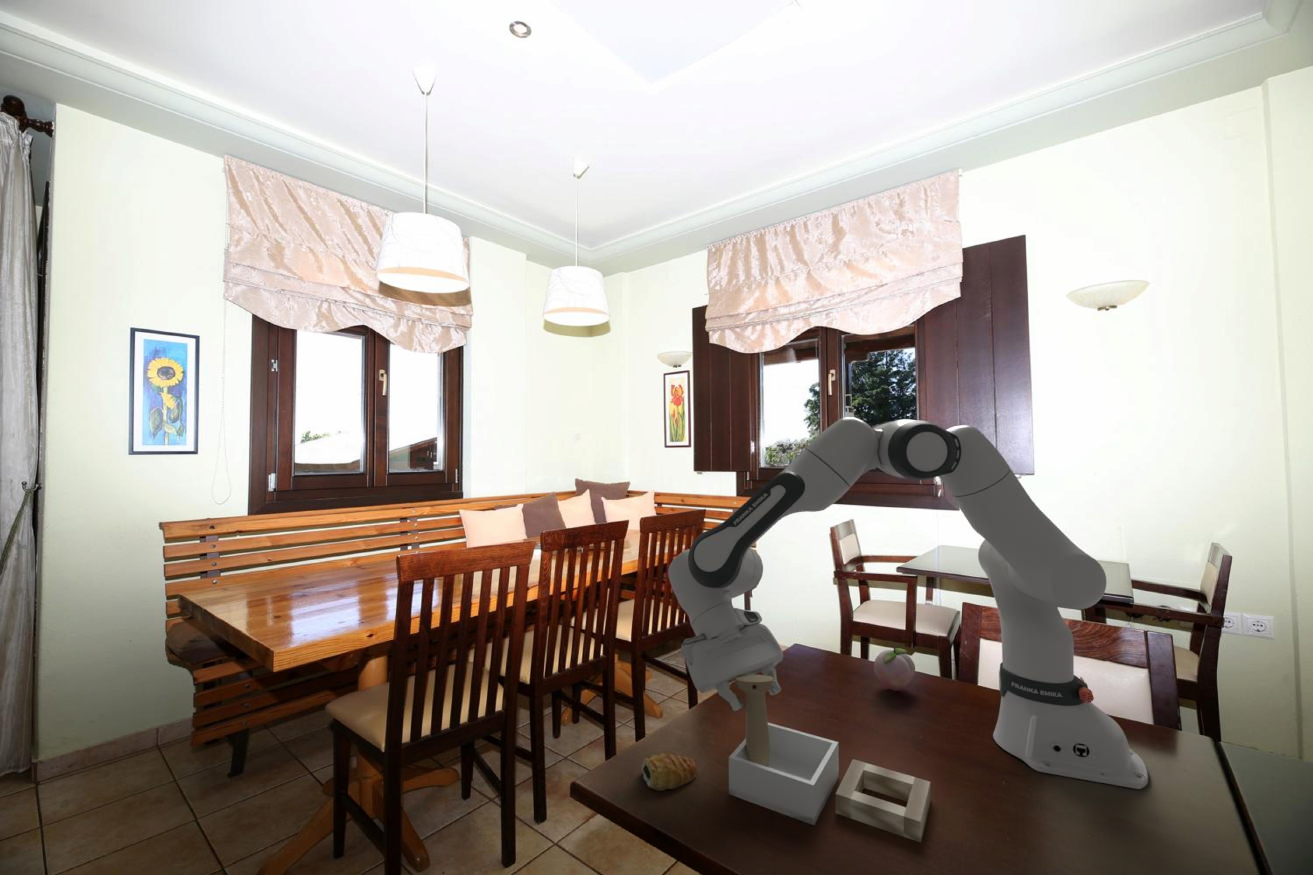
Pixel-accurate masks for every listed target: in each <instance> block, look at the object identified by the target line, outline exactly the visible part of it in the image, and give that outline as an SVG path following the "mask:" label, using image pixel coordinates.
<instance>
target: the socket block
mask: <svg viewBox="0 0 1313 875" xmlns="http://www.w3.org/2000/svg"><path fill="white" fill-rule="evenodd" d="M864 789H866V790H870V791H872V792H875V793H879V794H882V795H885V796H889V797H892V798H894V799H899V800H900V801H904V802H907V804H906V806H904V805H903V806H902V805H899V804H897V803H893V802H891V801H887V800H884V799H882V798H881V799H880V798H878V797H874V796H872V795H868V794H865V793H862V792H863V790H864ZM931 798H932V797H931V781H930V780H927V779H922V778H919V777H916V776H912V775H909V774H905V773H903V772H898V771H895V770H891V769H888V768H885V767H881V766H879V765H874V764H871V763H867V762H865V761H861V760H858V759H854V758H853V759H852V760H851V762H850V763H849V766H848V768H847V770H846V771H845V774H844V776H843V778H842V779H841V782H840V783H839V786H838V788H837V790H836V792H835V814H837V815H840V816H843V817H845V818H849V819H852V820H854V821H858V822H860V823H863V824H866V825H868V826H871V827H874V828H877V829H880V830H883V831H885V832H886V831H887V832H888V833H891V834H895V835H897V836H901V837H903V838H906V839H909V840H911V841H914V842H917V843H920V844H921V843H922V840H923V835H924V831H925V828H926V823H927V822H926V821H927V818H928V813H929V808H930V804H931Z"/></svg>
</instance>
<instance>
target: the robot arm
mask: <svg viewBox="0 0 1313 875" xmlns="http://www.w3.org/2000/svg"><path fill="white" fill-rule="evenodd" d="M873 469H875V470H876V471H878V472H879V471H880V473H881V472H882V473H884V474H888V475H890V476H892V477H895V478H898V479H909V480H911V481H925V480H926V481H927V480H930V479H934V478H939V479H940V480H941V481H942V482H943V484H944V485H945V488H946V489H947V490H948V492H949V494H950V496H951V497H952V499H953V500H954V501H955V503H956V505H957V506H958V508H959V509H960V511H961V513H962V514H963V515H964V518H966V521H968V522H967V523H969V525H970V526H971V527H972V529H973V530H974V531H975V532H976V533H977V534H978V535H980V537H982V538H983V541H982V543H980V546H979V548H978V553H977V554H978V557H977V558H978V562H979V565H980V567H981V569H982V570H983V572H984V574H985V575H986V577H987V579H988V580H989V584H990V587H991V589H992V593H993V596H994V600H995V604H996V608H997V612H998V616H999V621H1000V628H1001V630H1000V631H1001V653H1002V654H1001V656H1002V658H1001V663H1000V664H999V670H998V685H999V692H1000V695H1001V696H1000V697H1001V698H1000V706H999V712H998V718H997V722H996V725H995V728H994V731H993V733H992V738H993V739H994V741H995V743H996V744H998V746H1000V747H1001V748H1002V749H1003V750H1004V751H1006V752H1007V753H1009V754H1011V755H1013V756H1015V757H1017V758H1018V759H1020V760H1021V761H1023V762H1024V763H1026V764H1027V765H1028V766H1029V767H1030V768H1031V769H1033V770H1035V771H1036V772H1040V773H1044V774H1046V773H1047V774H1052V775H1055V776H1056V775H1057V776H1061V777H1062V776H1063V777H1067V778H1073V779H1080V780H1085V781H1090V782H1096V783H1100V784H1101V783H1103V784H1108V785H1113V786H1119V787H1125V788H1128V789H1129V788H1130V789H1136V790H1141V789H1143V788H1145V787H1146V786H1147V785H1148V783H1149V774H1148V769H1147V766H1146V764H1145V763H1144V761H1143V759H1142V758H1141V757H1140V756H1139V755H1138V754H1137V752H1135V751H1134V750H1132V749H1131V748H1130V746H1129V742H1128V739H1127V737H1126V734H1125V732H1124V730H1123V729H1122V728H1121V726H1120V725H1119V724H1118V723H1117V721H1116V720H1114V718H1112V717H1110V716H1109V715H1108V714H1107V713H1105V712H1104V711H1103V710H1101V709H1100V708H1099V707H1098V706H1097V705H1096V704H1094V703H1093V701H1094V699H1095V697H1094V694H1093V691H1092V690H1091V689H1090V688H1089V685H1088V684H1087V682H1085V680H1084V678H1083V677H1082V676H1080V678H1079V677H1078V676H1077V675H1075V674H1074V673H1075V672H1074V671H1075V670H1074V666H1075V664H1074V662H1075V660H1074V659H1075V658H1074V637H1073V636H1074V635H1073V633H1072V631H1071V629H1070V627H1069V626H1068V624H1067V623H1066V621H1065V620H1064V619H1063V616H1062V615H1061V612H1060V610H1059V608H1064V609H1070V610H1071V609H1072V610H1085V609H1088V608H1091V607H1092V606H1094V605H1096V604H1097V603H1098V602H1099V601H1100V600H1101V599H1102V597H1103V596H1104V594H1105V593H1106V588H1107V575H1106V573H1105V570H1104V568H1103V566H1102V565H1101V563H1100V562H1099V561H1098V560H1097V559H1095V558H1094V557H1092V556H1091V555H1089V554H1087V553H1086V552H1085V551H1084V550H1083V549H1081V548H1080V547H1078V545H1076V544H1075V543H1074V542H1073V541H1072V540H1071V539H1070V538H1069V537H1068V536H1066V534H1065V533H1064V532H1063V531H1062V530H1061V529H1060V528H1059V527H1058V526H1057V525H1056V524H1055V523H1054V522H1053V521H1052V520H1051V519H1050V518H1049V517H1048V516H1047V515H1046V514H1045V513H1044V512H1043V511H1042V510H1041V508H1039V507H1038V505H1036V503H1035V502H1034V500H1032V498H1031V496H1030V495H1029V494H1028V493H1027V491H1026V490H1025V488H1024V486H1023V485H1022V483H1021V481H1019V478H1018V477H1017V476H1016V474H1015V473H1014V471H1013V470H1012V468H1011V467H1010V465H1009V464H1008V462H1007V461H1006V459H1005V458H1004V457H1003V456H1002V454H1001V453H1000V451H999V450H998V449H997V448H996V446H994V444H993V443H992V442H991V441H990V440H989V439H988V438H987V436H985V435H984V434H983V433H982V432H981V431H980V430H979V429H978V428H977V427H974V426H971V425H965V424H963V425H962V424H961V425H956V426H955V425H954V426H952V427H949V428H947V429H945V428H943V427H941V426H939V425H937V424H935V423H932V422H930V421H927V420H917V419H909V418H908V419H907V418H906V419H905V418H904V419H903V418H902V419H897V420H890V421H889V420H888V421H884V422H881V423H877V424H875V425H872V426H871V425H870V424H869V423H867V422H866V421H864V420H861V419H860V418H857V417H852V416H845V417H842V418H838V419H837V420H836V421H834V422H833V423H832V424H831V425H830V426H828V427H827V428H826V429H825V430H823V431H822V432H821V433H820V434H818V436H816V437H815V438H814V439H813V440H812V441H811V442H810V443H809V444H808V445H807V446H806V447H805V449H803V450H802V452H801V453H800V454H799V455H797V457H796V458H794V459H793V460H792V461H791V463H790V464H788V465H787V466H786V467H785V468H784V469H783V470H782V471H781V472H780V473H778V474H777V475H775V476H774V477H773V478H771V479H770V480H769V481H768V482H767V483H765V484H764V485H763V486H761V487H760V489H759V490H757V491H756V492H755V493H754V494H753V495H752V496H751V497H749V498H748V500H746V502H744V503H743V504H742V505H741V506H740V507H739V508H738V509H737V510H736V511H735V512H734V513H732V514H731V515H730V516H729V517H727V519H726V520H725V521H723V522H721V524H718V525H717V526H715V527H713V528H710V529H708V530H706V531H704V532H702V533H701V534H699V535H698V536H697V537H696V538H695V539H694V540H693V541H692V544H691V545H690V548H689V549H686V550H682V552H680V553H679V554H677V555H676V556H675V557H674V558H673V560H672V561H671V562H670V564H669V566H668V570H667V572H668V573H667V574H668V579H669V583H670V585H671V589H672V591H673V594H674V595H675V597H676V599H677V602H678V603H679V605H680V607H681V609H682V610H683V611H684V612H685V613H686V615H687V616H688V619H689V624H690V627H691V628H692V630H693V632H694V634H695V636H693V637H688V638H685V639H684V641H683V642H682V644H681V645H680V646H681V647H680V653H681V654H682V656H683V658H684V660H685V663H686V667H687V670H688V672H689V674H690V678H691V680H692V683H693V685H694V687H695V689H696V690H697V691H699V692H700V693H701V694H706V693H707V692H710V691H714V690H716V692H717V694H718V695H719V696H720V697H722V698H723V699H724V700H725V701H727V703H729V705H730V706H731V709H732V710H733V711H734V712H736V711H739V710H741V709H742V708H744V707H745V706H746V703H745V701H744V700H743V698H742V696H741V695H740V694H739V695H736V694H735V693H734V692H733V691H732V689H730V688H731V685H730V684H731V683H734V682H735V683H736V677H737V676H740V675H757V674H758V673H762V675H766V676H771V677H773V687H772V688H771V689H770V690H768V691H767V692H768V693H769V695H771V696H774V695H777V694H778V693H780V692H781V691H782V688H781V686H780V684H779V682H778V679H777V669H776V666H777V665H779V663H780V662H782V661H783V659H784V653H783V649H782V648H781V646H780V644H779V642H778V641H777V639H776V638H775V636H774V634H773V633H772V631H771V630H770V629H769V628H768V626H766V625H765V624H763V623H761V622H762V621H763V617H762V616H761V614H760V612H759V611H756V610H748V609H741V608H739V607H734V606H733V603H731V600H732V599H734V598H737V597H739V596H742V595H745V593H748V592H749V591H751V590H753V589H755V588H756V587H757V586H758V585H759V583H760V582H761V580H762V578H763V572H764V565H763V561H762V558H761V556H760V555H759V553H758V552H757V551H756V550H755V549H753V548H752V546H753V545H754V544H756V542H758V541H759V539H761V538H762V537H763V536H764V535H765V534H766V533H767V532H769V531H770V529H771V528H772V527H774V526H775V525H776V524H777V523H778V522H779V521H780V520H782V519H784V518H785V517H788V516H789V515H792V514H796V513H797V514H798V513H804V512H811V513H814V512H817V513H818V512H822V511H825V510H826V509H827V508H829V507H830V506H833V505H834V504H835V503H836V502H837V501H839V500H840V499H841V498H842V497H843V496H844V495H845V494H846V493H847V492H848V491H849V490H850V489H851V488H852V486H853V485H854V484H855V483H856V482H857V481H858V480H859V479H860V477H861V476H863V475H864V474H866V473H867V472H869V471H870V470H873Z"/></svg>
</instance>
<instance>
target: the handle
mask: <svg viewBox="0 0 1313 875" xmlns="http://www.w3.org/2000/svg"><path fill="white" fill-rule="evenodd" d="M735 686H736V688H738V689H740V690H741V691H743V692H744V697H745V729H744V730H745V732H744V733H745V738H746V749H747V756H748V761H751V762H754V763H757V764H760V765H763V766H766V767H769V763H768V762H769V755H770V741H769V729H768V723H769V722H768V721H769V720H768V715H767V703H766V693H767V692H769V691H768V690H770V689H771V688H772V687H773V677H771V676H766V675H763V674H753V675H740V676H737V677H736V681H735Z"/></svg>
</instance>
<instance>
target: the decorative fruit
mask: <svg viewBox="0 0 1313 875" xmlns="http://www.w3.org/2000/svg"><path fill="white" fill-rule="evenodd" d="M873 669H874V672H875V676H876V677H877V678H878V680H879V681H880V682H881V683H882V684H883V685H884V686H886V687H887V688H888V689H890V690H892V691H894V692H897V691H901V690H903V689H904V688H906V687H907V686H908V685H909V684H910V683H911V682H912V681H913V678H914V675H915V672H916V666H915V663H914V660H913V659H912V658H911V656H910V655H908V651H907V650H906V649H904V648H900V647H898V648H897V647H896V646H894V647H893V649H888V650H886V649H885V650H883V651H882V652H880V653H879V654H877V656H876V657H875V659H874V663H873Z"/></svg>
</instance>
